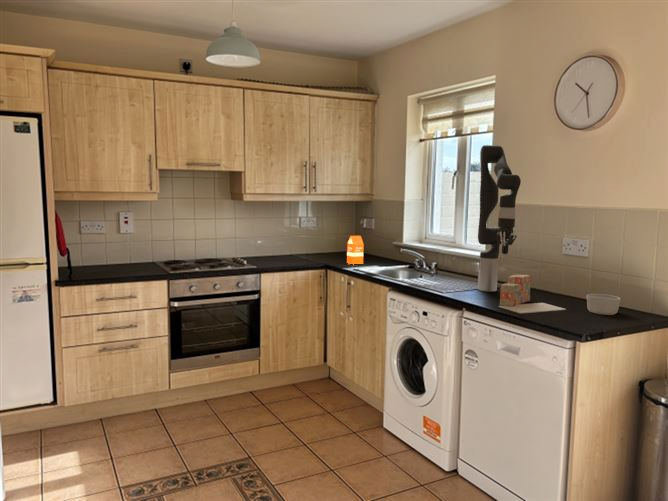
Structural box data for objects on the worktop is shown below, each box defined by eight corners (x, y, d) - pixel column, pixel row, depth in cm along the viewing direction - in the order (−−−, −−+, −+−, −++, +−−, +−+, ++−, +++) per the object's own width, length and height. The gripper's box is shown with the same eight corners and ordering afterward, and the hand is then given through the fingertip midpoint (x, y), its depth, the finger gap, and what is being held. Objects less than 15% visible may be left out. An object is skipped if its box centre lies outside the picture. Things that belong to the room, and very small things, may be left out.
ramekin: (623, 312, 230) (624, 296, 229) (614, 317, 220) (616, 300, 220) (590, 307, 239) (591, 292, 238) (581, 312, 229) (582, 296, 228)
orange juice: (363, 264, 370) (363, 236, 368) (352, 265, 366) (353, 236, 364) (357, 263, 377) (357, 235, 375) (346, 263, 373) (347, 235, 370)
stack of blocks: (513, 306, 234) (514, 279, 233) (499, 305, 238) (500, 277, 237) (530, 300, 251) (530, 274, 250) (516, 299, 255) (517, 273, 254)
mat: (498, 306, 236) (498, 305, 236) (542, 303, 245) (542, 302, 245) (520, 313, 223) (520, 312, 223) (565, 309, 232) (566, 309, 232)
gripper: (491, 216, 254) (489, 252, 255) (509, 217, 241) (507, 255, 243) (503, 216, 256) (502, 252, 258) (522, 218, 244) (520, 255, 246)
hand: (504, 253), depth 251 cm, fingers closed
